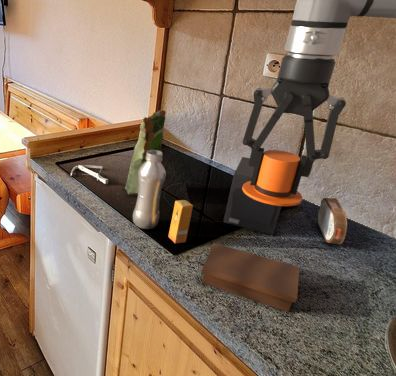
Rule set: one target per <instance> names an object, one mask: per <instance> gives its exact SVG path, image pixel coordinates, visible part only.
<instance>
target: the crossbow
mask: <svg viewBox="0 0 396 376" xmlns="http://www.w3.org/2000/svg"><path fill="white" fill-rule="evenodd" d="M88 168H89V169H88ZM90 168H91V169H100V171H99V173H98V172H95V171H93V170H91V169H90ZM77 169H78V170H80V171H82V172H84V173H83V175H86V176H92V177H93V178H96V181H99V182H102V183H103V184H105V185H108V184H109V179H108V178H105V177H103V176H102V175H100V173H101V171H102V170H103V169H104V167H103V165H94V164H93V165H91V164H78V165H75V166H74V167H72V169H71V171H70V176H71V177H72V176H73V175H75V173H74V171H75V170H77ZM85 173H86V174H85Z"/></svg>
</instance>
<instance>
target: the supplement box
mask: <svg viewBox="0 0 396 376" xmlns="http://www.w3.org/2000/svg"><path fill="white" fill-rule="evenodd" d="M193 208H194V205H193V204H191V202H190V201H188V200H187V199H179V200H175V202H174V206H173V211H172V217H171V222H170V227H169V231H168V238H169V239H170V240H171V241H172V242H173V243H174V244H181V243H182V244H183V243H186V242H187V237H188V234H189V233H188V232H189V228H190V222H191V219H192V218H191V217H192V214H193V213H192V212H193Z"/></svg>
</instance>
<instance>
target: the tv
mask: <svg viewBox="0 0 396 376" xmlns="http://www.w3.org/2000/svg"><path fill="white" fill-rule="evenodd" d="M249 159H250V157H245V156H242V157H241V159H240V161H239V163H238V165H237V166H236V169H235V170H234V173H233V177H232V183H231V186H230V191H229V194H228V199H227V203H226V207H225V213H224V216H223V223H225V224H229V225H232V226H236V227H239V228H244V229H247V230H251V231H255V232H259V233H263V234H267V235H271V236H274V234H275V230H276V227H277V223H278V220H279V218H280V217H279V216H280V213H281V210H282V207H283V206H276V205H270V204H266V203H263V202H260V201H257V200H255V199H253V198H251V197H249V196H247V195H246V194H245V193H244V192H243V190H242V187H243V184H244V183H246V182H248V181H251V179H252V175H253V171H254V167H252V166H249Z"/></svg>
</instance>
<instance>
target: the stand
mask: <svg viewBox="0 0 396 376" xmlns="http://www.w3.org/2000/svg"><path fill="white" fill-rule="evenodd" d="M201 274H203V278H202V282H201V284H203V285H205V286H209V287H213V288H215V289H219V290H222V291H224V292H227V293H229V294H233V295H236V296H239V297H242V298H245V299H247V300H252V301H254V302H257V303H260V304H263V305H267V306H269V307H273V308H275V309H279V310H281V311H285V312H286V313H289V312H290V310H291V307H292V303H295V304H296V302H297V300H298V292H299V281H300V267H299V266H297V265H293V264H289V263H286V262H282V261H279V260H276V259H272V258H269V257H265V256H262V255H258V254H255V253H251V252H248V251H244V250H240V249H237V248H233V247H230V246H226V245H223V244H220V243H216V242H213V243H212V245H211V248H210V249H209V253H208V255H207V257H206V260H205V262H204V264H203V266H202V267H201Z"/></svg>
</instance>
